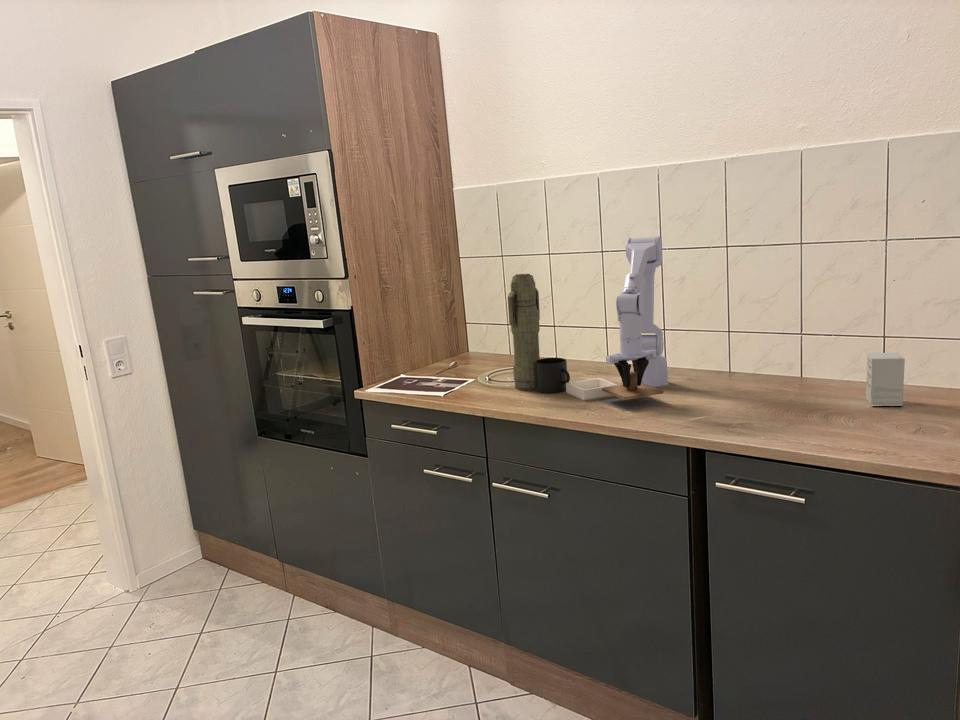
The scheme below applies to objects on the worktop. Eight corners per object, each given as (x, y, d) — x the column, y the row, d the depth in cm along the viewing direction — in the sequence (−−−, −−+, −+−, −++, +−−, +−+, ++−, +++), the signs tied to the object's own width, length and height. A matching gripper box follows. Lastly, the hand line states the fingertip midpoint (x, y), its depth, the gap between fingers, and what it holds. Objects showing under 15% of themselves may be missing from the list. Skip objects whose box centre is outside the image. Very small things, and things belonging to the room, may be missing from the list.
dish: (599, 389, 221) (598, 377, 220) (618, 396, 211) (617, 384, 210) (566, 394, 217) (565, 382, 217) (583, 402, 207) (583, 390, 206)
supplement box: (897, 400, 189) (899, 352, 187) (903, 408, 182) (905, 358, 180) (865, 399, 192) (866, 352, 189) (869, 407, 185) (871, 358, 182)
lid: (639, 384, 210) (639, 366, 208) (663, 393, 198) (663, 374, 197) (602, 390, 206) (601, 372, 205) (624, 399, 195) (623, 380, 194)
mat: (640, 395, 211) (640, 393, 211) (666, 405, 199) (666, 403, 199) (599, 401, 207) (599, 400, 206) (624, 412, 195) (624, 411, 194)
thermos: (505, 389, 229) (498, 276, 222) (528, 381, 237) (522, 272, 230) (527, 392, 223) (521, 276, 216) (551, 383, 231) (545, 272, 224)
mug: (559, 396, 216) (558, 366, 214) (530, 390, 225) (528, 361, 223) (580, 389, 222) (579, 360, 220) (551, 384, 231) (550, 356, 229)
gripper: (614, 343, 193) (616, 393, 196) (662, 336, 198) (663, 385, 200) (601, 339, 199) (603, 387, 202) (647, 332, 204) (648, 380, 207)
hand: (632, 386), depth 202 cm, fingers closed on lid, 3 cm apart
